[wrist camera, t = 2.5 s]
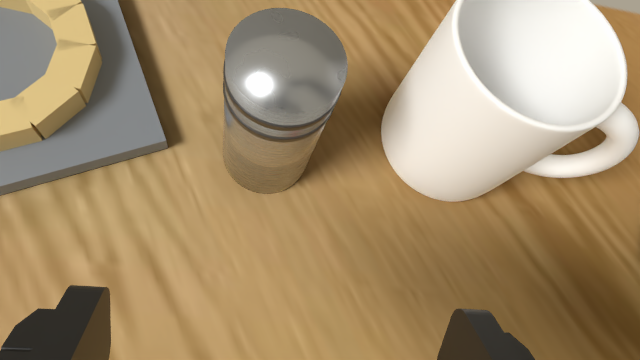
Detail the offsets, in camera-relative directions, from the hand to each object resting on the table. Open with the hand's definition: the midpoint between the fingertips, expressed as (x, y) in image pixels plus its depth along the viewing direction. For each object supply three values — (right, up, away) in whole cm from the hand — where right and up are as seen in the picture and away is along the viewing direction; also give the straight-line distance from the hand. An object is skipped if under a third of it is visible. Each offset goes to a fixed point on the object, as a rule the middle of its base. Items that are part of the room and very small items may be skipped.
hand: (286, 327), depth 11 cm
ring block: (-17, +9, +15) cm, 24 cm away
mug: (+10, +5, +19) cm, 22 cm away
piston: (-2, +5, +16) cm, 17 cm away
